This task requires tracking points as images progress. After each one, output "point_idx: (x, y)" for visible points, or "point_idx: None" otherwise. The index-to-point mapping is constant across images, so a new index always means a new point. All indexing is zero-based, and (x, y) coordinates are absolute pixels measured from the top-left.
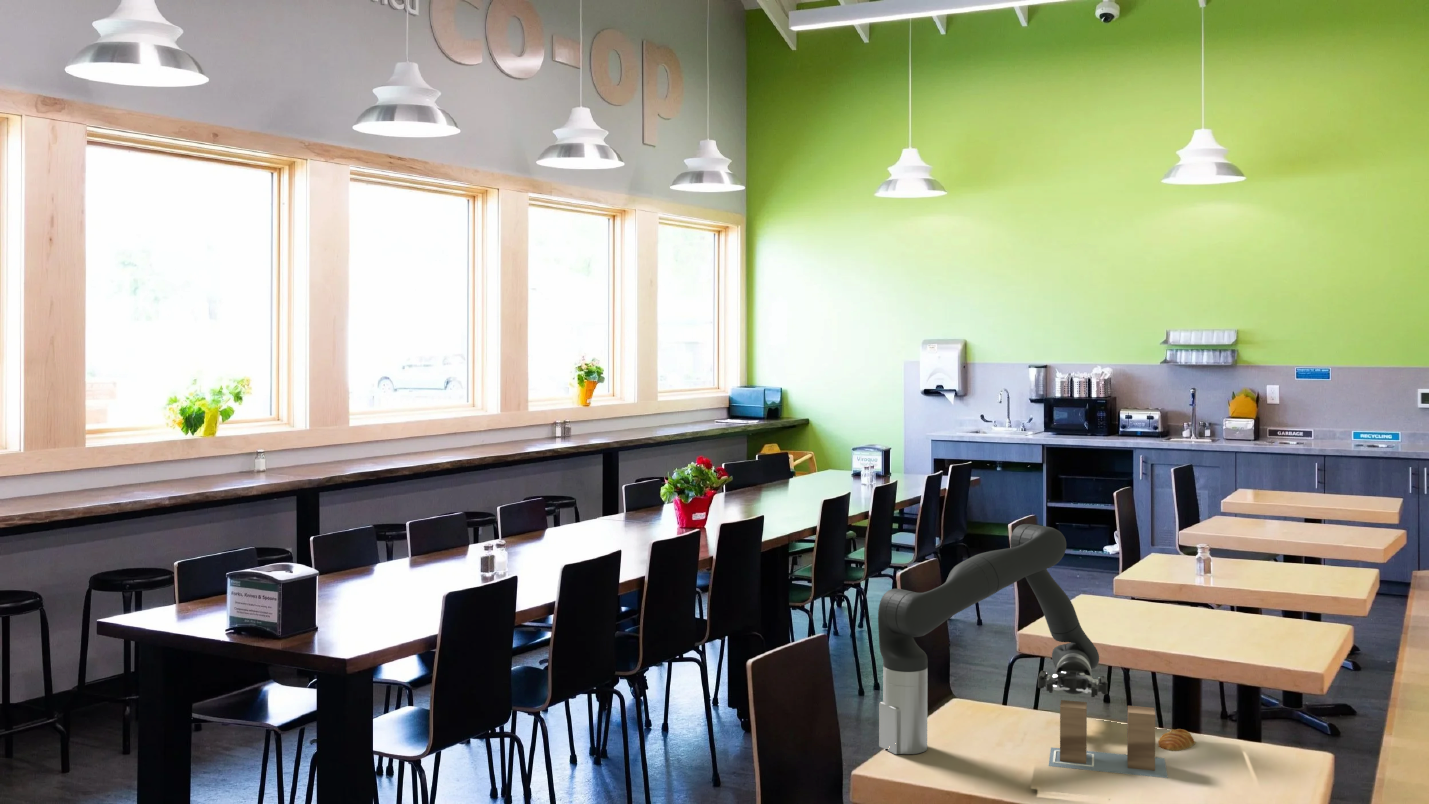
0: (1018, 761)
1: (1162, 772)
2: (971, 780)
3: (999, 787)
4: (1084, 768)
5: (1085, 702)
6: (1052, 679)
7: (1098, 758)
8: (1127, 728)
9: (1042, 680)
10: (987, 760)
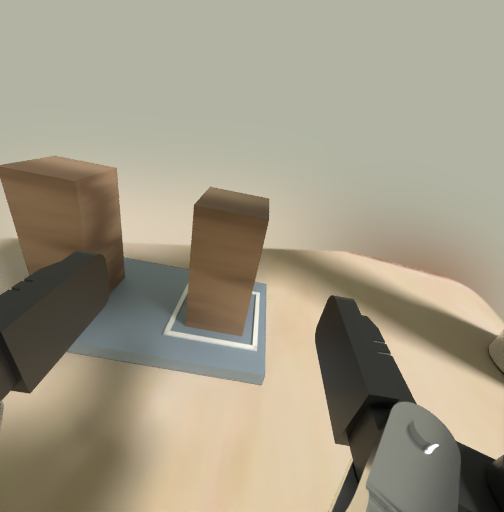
0: None
1: None
2: (353, 271)
3: (316, 258)
4: None
5: (199, 203)
6: (375, 393)
7: (162, 314)
8: (90, 238)
9: (473, 457)
10: None
